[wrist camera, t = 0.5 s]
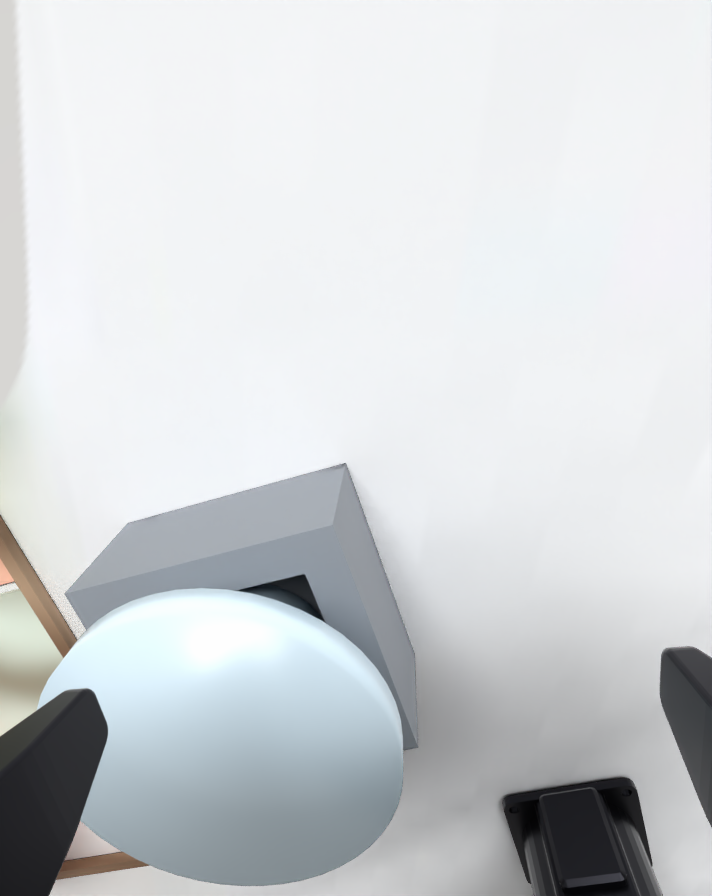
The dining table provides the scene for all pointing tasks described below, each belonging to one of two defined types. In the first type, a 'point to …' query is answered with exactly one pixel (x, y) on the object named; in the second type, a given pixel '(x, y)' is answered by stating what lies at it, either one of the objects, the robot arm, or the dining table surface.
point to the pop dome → (235, 736)
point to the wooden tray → (35, 665)
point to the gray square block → (268, 566)
